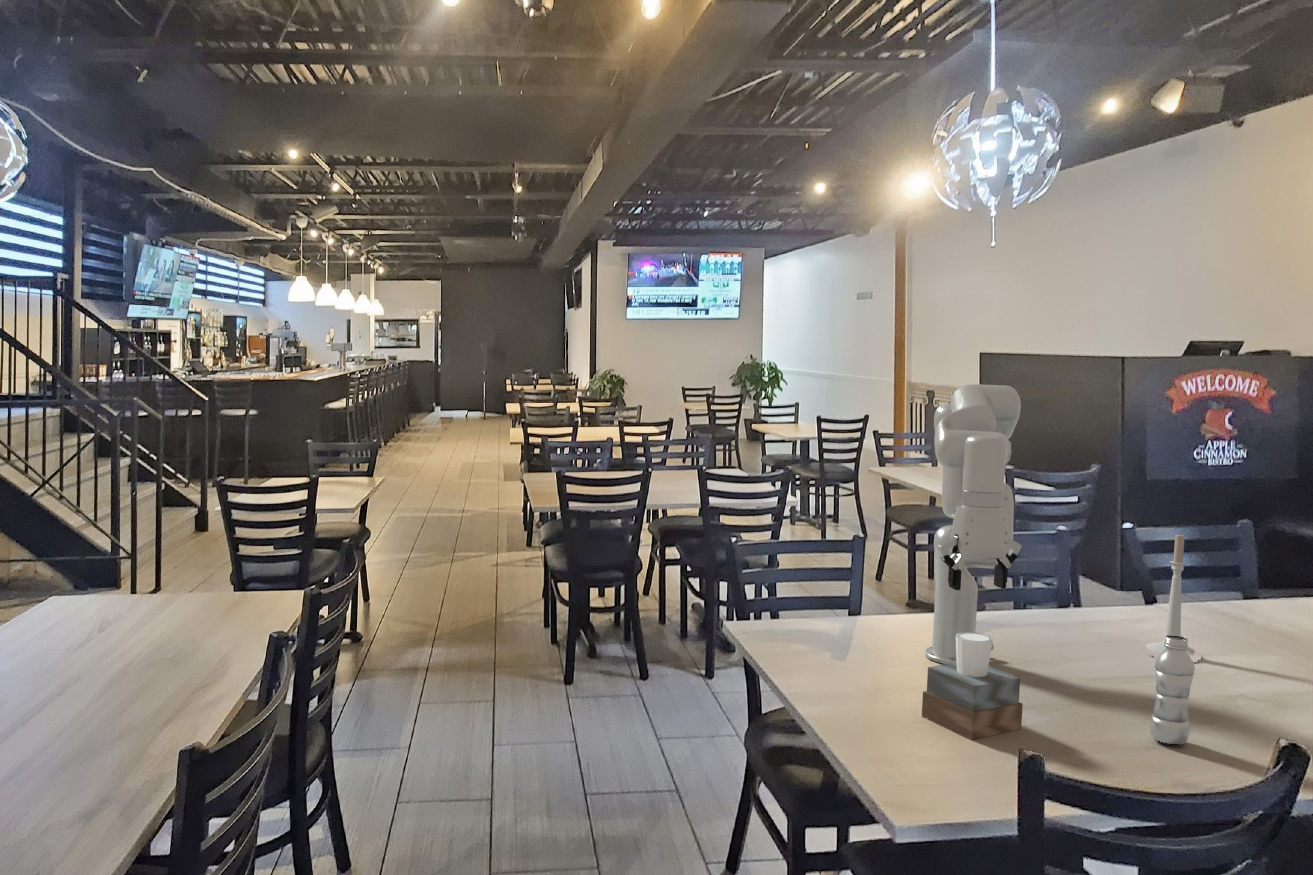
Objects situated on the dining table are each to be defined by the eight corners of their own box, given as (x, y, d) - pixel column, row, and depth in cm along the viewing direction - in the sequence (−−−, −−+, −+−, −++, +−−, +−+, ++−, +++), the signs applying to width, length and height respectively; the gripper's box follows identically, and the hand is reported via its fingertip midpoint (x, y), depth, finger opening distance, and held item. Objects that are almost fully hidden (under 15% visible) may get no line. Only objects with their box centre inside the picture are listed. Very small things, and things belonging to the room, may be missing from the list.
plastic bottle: (1141, 735, 185) (1148, 632, 183) (1175, 735, 185) (1183, 632, 184) (1161, 749, 178) (1169, 642, 177) (1196, 749, 179) (1205, 642, 177)
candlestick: (1144, 658, 234) (1153, 535, 232) (1139, 644, 246) (1148, 526, 244) (1204, 665, 230) (1214, 540, 227) (1197, 651, 241) (1206, 531, 239)
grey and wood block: (970, 706, 198) (972, 658, 197) (1021, 729, 186) (1024, 678, 186) (921, 716, 192) (924, 666, 191) (971, 740, 180) (974, 687, 179)
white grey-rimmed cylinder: (993, 679, 184) (995, 643, 184) (955, 676, 186) (957, 640, 185) (988, 668, 191) (990, 633, 190) (952, 664, 192) (953, 630, 192)
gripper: (1011, 496, 192) (1006, 581, 193) (931, 497, 188) (926, 584, 189) (1034, 502, 184) (1028, 591, 186) (951, 503, 180) (946, 594, 182)
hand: (977, 587), depth 188 cm, fingers open, 9 cm apart
